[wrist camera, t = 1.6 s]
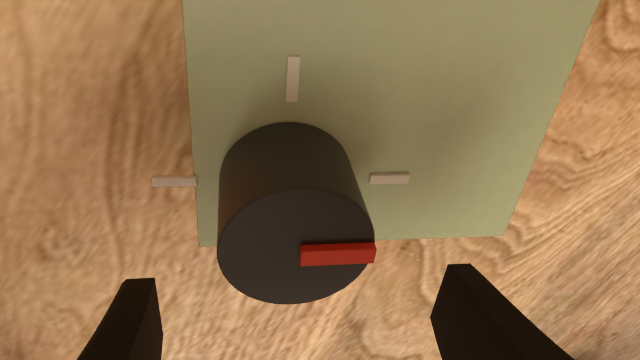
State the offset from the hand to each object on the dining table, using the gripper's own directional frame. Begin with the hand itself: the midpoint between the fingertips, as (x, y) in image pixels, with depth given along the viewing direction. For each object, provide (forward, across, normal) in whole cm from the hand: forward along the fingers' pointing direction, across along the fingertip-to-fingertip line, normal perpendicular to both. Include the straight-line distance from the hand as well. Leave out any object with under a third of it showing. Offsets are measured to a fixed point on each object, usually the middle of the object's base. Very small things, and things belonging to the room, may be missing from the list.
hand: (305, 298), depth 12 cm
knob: (+5, 0, 0) cm, 5 cm away
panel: (+8, -3, -2) cm, 9 cm away
